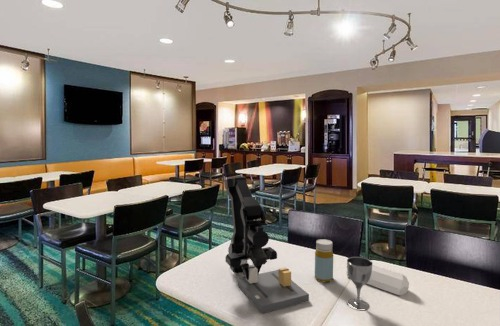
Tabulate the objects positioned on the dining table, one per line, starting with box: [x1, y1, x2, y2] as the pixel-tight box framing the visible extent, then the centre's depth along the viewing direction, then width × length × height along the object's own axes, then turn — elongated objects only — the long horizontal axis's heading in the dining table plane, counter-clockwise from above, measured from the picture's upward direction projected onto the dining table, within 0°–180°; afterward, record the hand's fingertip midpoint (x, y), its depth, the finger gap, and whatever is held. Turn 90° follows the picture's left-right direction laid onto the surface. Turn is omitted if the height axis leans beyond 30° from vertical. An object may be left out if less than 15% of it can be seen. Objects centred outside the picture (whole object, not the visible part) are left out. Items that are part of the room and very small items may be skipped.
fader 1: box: [246, 264, 258, 284], centre depth 115 cm, size 4×3×5 cm
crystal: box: [345, 264, 410, 296], centre depth 119 cm, size 7×7×24 cm
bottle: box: [314, 238, 334, 283], centre depth 122 cm, size 7×7×15 cm
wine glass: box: [346, 256, 373, 311], centre depth 104 cm, size 8×8×15 cm
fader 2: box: [277, 267, 292, 287], centre depth 113 cm, size 4×3×5 cm
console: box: [236, 269, 310, 314], centre depth 112 cm, size 21×18×3 cm
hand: (251, 278), depth 116 cm, fingers closed on fader 1, 3 cm apart
